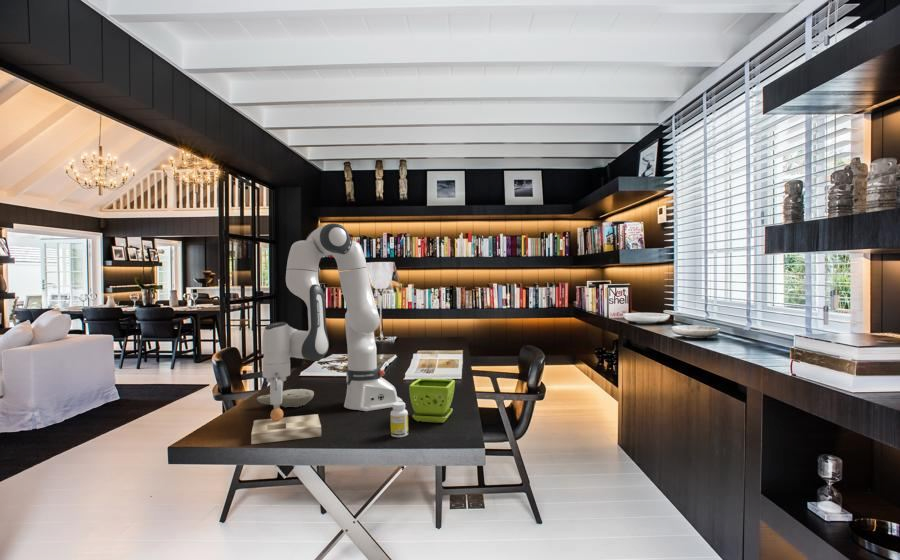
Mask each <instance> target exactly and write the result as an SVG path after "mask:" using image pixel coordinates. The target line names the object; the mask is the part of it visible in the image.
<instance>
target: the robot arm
mask: <svg viewBox="0 0 900 560" xmlns="http://www.w3.org/2000/svg"><path fill="white" fill-rule="evenodd" d="M325 256H332V257H333V258H334V259H335V262H336V265H337V272H338V277H339V283H340V288H341V294H342V295H343V299H344V302H345V307H346V312H345V315H344V316H345V317H344V323H345V325H344V326H345V337H346V344H347V346H346V348H347V369H346V372H345V373H346V375H345V377H346V378H345V379H346V384H347V386H346V387H347V388H346V395H345V400H344V404H343V407H344V408H346V409H349V410H354V411H355V410H356V411H357V410H358V411H364V412H369V411H375V410H382V409H387V408H389V409H390V408H393V407H392V406H393V405H392V404H393V403H395V402H404V401H403V399H402V397H401V398H400V397H399V396H398V395H397V389H396V387H395V386H394V385H393V384H392V383H390V382H389V381H388V380H386V379H385V378H383V377H384V376H385V375H386V373H385V371H384V369H380V368H379V367H378V363H377V359H378V358H377V350H378V349H377V344H376V338H375V331H376V330H377V329H378V327H379V326H380V322H381V319H380V318H381V317H380V314H379V310H378V307H377V303H376V299H375V296H374V294H373V289H372V286H371V281H370V277H369V270H368V266H367V265H368V264H367V262H366V261H367V260H366V256H365V253H364V251H363V247H362V245H361V244H360V243H359V242H357V241H354V240H352V237H351V235H350V234H349V232H348V230H347V229H346V227H344V226H343V225H341V224H339V223H335V222H334V223H327V224H324V225H321V226H319V227H316V229H313V230H312V231H311V232H309V234H308V235H307V236H306V238H305V240H298V241H295V242H293V244H292V245H291V247H290V250H289V253H288V257H287V264H286V268H285V269H286V271H285V272H286V273H285V284H286V287H287V288H288V290H289V292H291V293H292V294H293V295H295V296H297V297H298V298H300V299H301V300H302V301H304V303H305V305H306V307H307V318H308V319H307V320H308V321H307V322H308V323H307V324H308V330H299V329H297V328H294V327H292V326H291V325H289V324H288V323H287V322H285V321H278V322H273V323H269V324H267V325H266V326H265V327H264V329H263V332H262V340H261V341H262V343H261V346H262V348H261V349H262V353H263V358H262V378H264V379H266V382H267V383H269V394H270V404H269V405H271V406H273V409H275V408H280V409H281V406H280V404H282V391H284V390H283V388H284V382H286V381H287V377H289V376H291V358H295V359H302V360H303V359H304V360H308V361H312V362H318V361H320V360H322V359H323V358H324V357H325V356H326V354H327V353H328V350H329V347H330V343H329V342H330V341H329V337H328V331H327V321H326V317H327V316H326V305H325V304H326V303H325V302H326V301H325V294H324V291H323V288H322V287H321V285H320V282H319V268H320V266H319V264H320V262H321V259H322V257H325ZM382 376H383V377H382Z"/></svg>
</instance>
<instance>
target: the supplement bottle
mask: <svg viewBox="0 0 900 560" xmlns="http://www.w3.org/2000/svg"><path fill="white" fill-rule="evenodd" d="M392 405H393V406H392V407H391V408H392V410H391V411H390V435H391V437H393V438H404V437H406V436H408V435H409V413H408V410H407V409H406V403H405V402H404V401H403V402H395V403H393V404H392Z"/></svg>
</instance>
